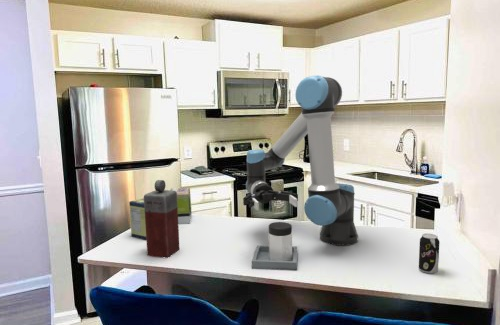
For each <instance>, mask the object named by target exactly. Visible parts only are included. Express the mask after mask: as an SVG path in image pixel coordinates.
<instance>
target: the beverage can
mask: <svg viewBox="0 0 500 325" xmlns="http://www.w3.org/2000/svg"><path fill="white" fill-rule="evenodd" d="M440 243H441V242H440V239H438V235H436V234H433V233H428V232H427V233H422V235H421V237H420V238H419V250H418V251H419V252H418V269H419V270H420V271H421V272H423V273H425V274H430V275H431V274H435V273H437V272H438V271H439V260H440V256H439V255H440Z"/></svg>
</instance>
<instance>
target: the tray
mask: <svg viewBox="0 0 500 325" xmlns="http://www.w3.org/2000/svg"><path fill="white" fill-rule="evenodd" d="M255 247H256V248H255V250H254V253H253V256H252V259H251V269H256V270H261V269H262V270H280V271H283V270H286V271H297V264H298V262H297V261H298V246H297V245H296V246H294V245H292V260H289V261H274V260H270V258H269V245H262V244H261V245H260V244H257V245H256V246H255Z"/></svg>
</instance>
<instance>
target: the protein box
mask: <svg viewBox="0 0 500 325" xmlns="http://www.w3.org/2000/svg"><path fill="white" fill-rule="evenodd" d="M128 203H129V218H130V235H131V237H133V238H137V239H142V240H145V241H146V226H145V210H144V197H142V198H138V199H135V200H131V201H129V202H128Z"/></svg>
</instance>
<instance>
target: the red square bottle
mask: <svg viewBox="0 0 500 325" xmlns="http://www.w3.org/2000/svg"><path fill="white" fill-rule="evenodd" d="M165 188H166V181H165V180H163V179H157V180H155V182H154V190H153V191H150V192H147V193H145V194H144V195H143V198H144V210H145V226H146V240H145V241H146V255H147V256H148V257H155V258H157V257H158V258H163V257H165V258H166V259H169V258H170V257H172V256H171V255H173V256H174V254H176V253H177V252H178V251H180V232H179V231H180V230H179V224H178V207H177V192H176V191H171V189H170V190H168V189H165ZM168 257H169V258H168Z"/></svg>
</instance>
